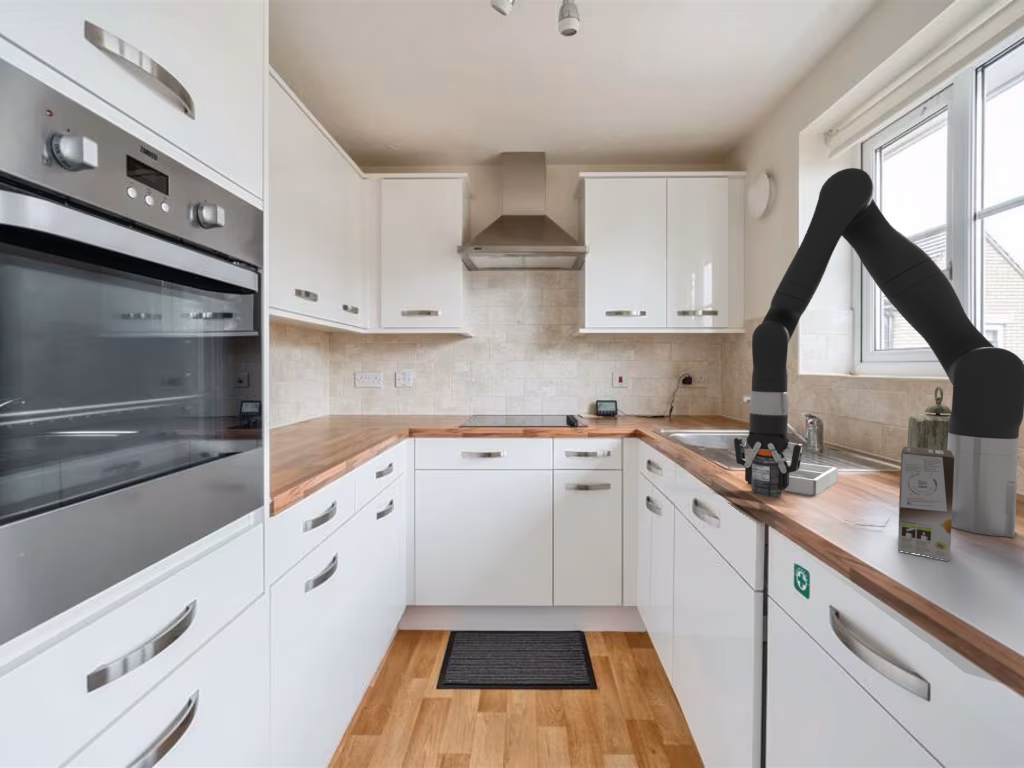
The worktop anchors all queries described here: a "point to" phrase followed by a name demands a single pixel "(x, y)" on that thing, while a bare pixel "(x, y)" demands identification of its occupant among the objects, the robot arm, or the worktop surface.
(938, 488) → the coffee box
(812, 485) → the tray
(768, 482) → the pill bottle
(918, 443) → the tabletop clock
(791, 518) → the worktop surface
